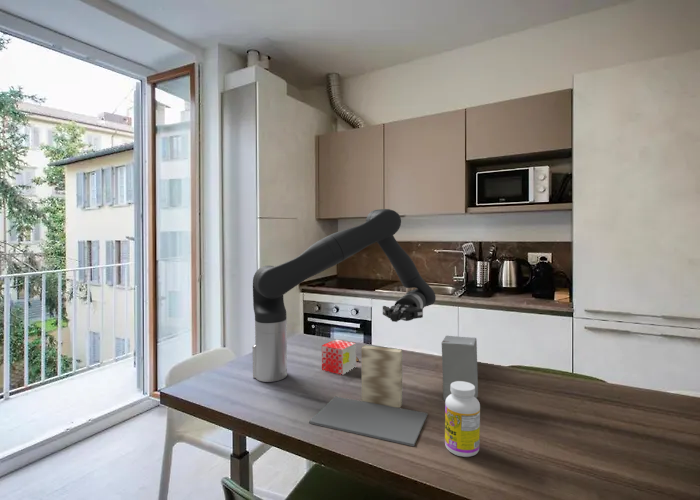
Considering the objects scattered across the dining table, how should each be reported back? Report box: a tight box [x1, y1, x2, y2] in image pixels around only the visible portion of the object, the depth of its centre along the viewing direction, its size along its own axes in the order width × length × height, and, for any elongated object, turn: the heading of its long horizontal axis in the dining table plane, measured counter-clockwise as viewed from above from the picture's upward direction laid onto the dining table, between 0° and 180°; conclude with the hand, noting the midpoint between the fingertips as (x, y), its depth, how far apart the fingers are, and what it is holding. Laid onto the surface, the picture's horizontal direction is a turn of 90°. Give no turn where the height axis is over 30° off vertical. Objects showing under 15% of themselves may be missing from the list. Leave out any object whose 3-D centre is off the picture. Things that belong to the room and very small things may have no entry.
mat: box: [308, 395, 429, 447], centre depth 86 cm, size 24×14×1 cm, turn 67°
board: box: [361, 344, 403, 408], centre depth 94 cm, size 10×2×14 cm, turn 67°
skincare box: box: [441, 335, 479, 401], centre depth 97 cm, size 8×7×16 cm
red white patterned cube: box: [321, 339, 357, 376], centre depth 119 cm, size 8×8×8 cm
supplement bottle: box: [444, 381, 481, 458], centre depth 74 cm, size 7×7×13 cm
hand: (394, 318), depth 104 cm, fingers closed
